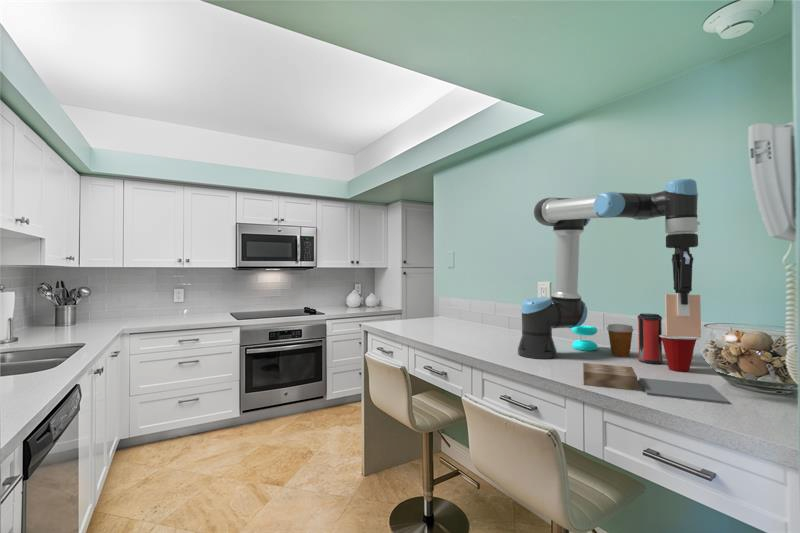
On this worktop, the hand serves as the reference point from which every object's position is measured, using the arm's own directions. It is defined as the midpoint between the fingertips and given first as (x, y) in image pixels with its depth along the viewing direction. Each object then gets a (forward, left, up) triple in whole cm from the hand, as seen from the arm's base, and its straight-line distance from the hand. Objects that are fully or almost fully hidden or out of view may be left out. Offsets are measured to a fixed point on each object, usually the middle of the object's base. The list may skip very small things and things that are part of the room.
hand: (682, 315), depth 109 cm
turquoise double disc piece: (-25, +52, -22) cm, 62 cm away
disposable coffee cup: (-12, +45, -22) cm, 52 cm away
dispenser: (-19, +1, -22) cm, 29 cm away
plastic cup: (+4, +27, -22) cm, 35 cm away
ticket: (0, 0, -6) cm, 6 cm away
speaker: (-3, +36, -22) cm, 42 cm away
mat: (-1, 0, -22) cm, 22 cm away
